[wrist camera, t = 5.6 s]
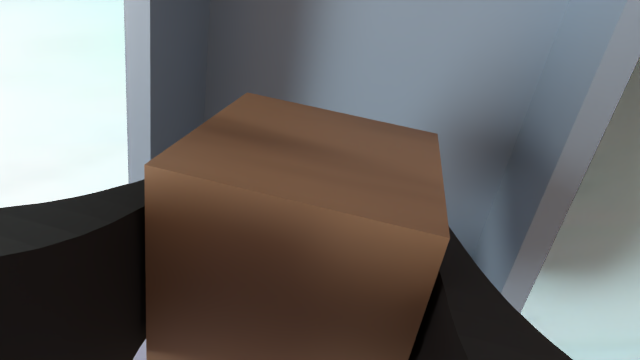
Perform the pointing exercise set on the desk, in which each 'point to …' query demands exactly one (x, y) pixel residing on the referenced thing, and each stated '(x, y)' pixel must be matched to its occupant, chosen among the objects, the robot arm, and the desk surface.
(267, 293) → the walnut cube
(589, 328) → the desk surface
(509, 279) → the tote
